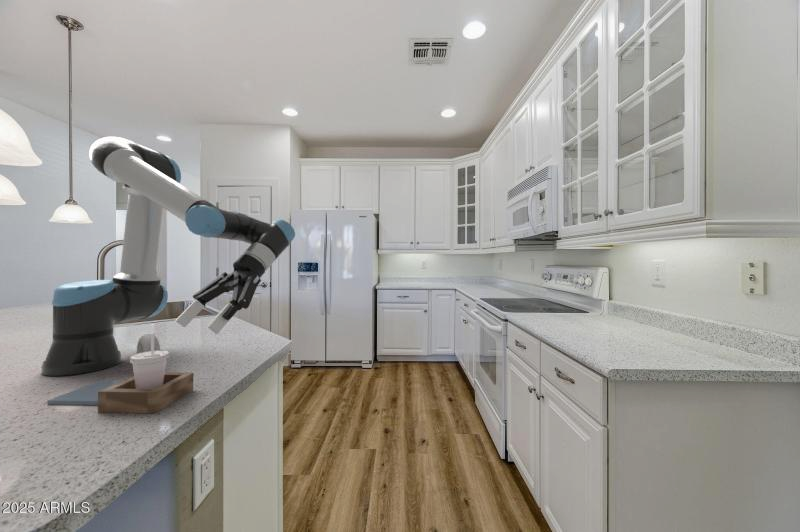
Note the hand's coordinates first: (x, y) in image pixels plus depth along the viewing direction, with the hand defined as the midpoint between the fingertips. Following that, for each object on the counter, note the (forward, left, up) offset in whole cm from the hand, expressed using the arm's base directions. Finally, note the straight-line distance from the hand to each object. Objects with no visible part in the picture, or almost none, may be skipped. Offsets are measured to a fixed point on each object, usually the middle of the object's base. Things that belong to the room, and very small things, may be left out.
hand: (195, 327), depth 71 cm
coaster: (+4, -18, -14) cm, 23 cm away
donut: (-10, -19, -14) cm, 26 cm away
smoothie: (+7, -5, -14) cm, 17 cm away
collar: (+7, -5, -14) cm, 16 cm away
